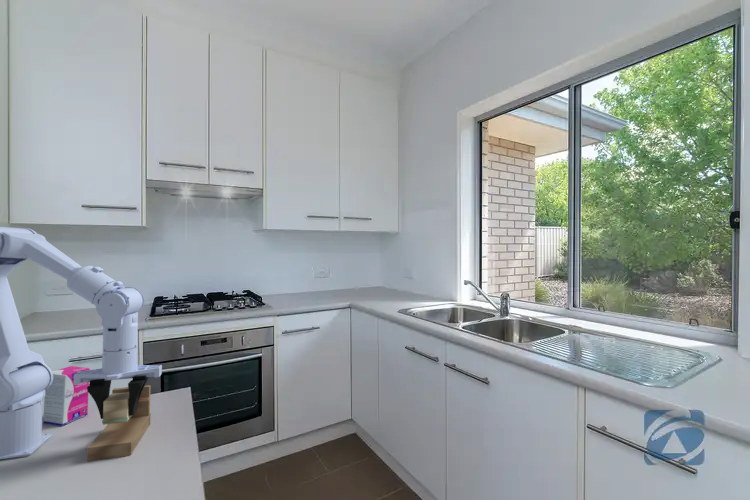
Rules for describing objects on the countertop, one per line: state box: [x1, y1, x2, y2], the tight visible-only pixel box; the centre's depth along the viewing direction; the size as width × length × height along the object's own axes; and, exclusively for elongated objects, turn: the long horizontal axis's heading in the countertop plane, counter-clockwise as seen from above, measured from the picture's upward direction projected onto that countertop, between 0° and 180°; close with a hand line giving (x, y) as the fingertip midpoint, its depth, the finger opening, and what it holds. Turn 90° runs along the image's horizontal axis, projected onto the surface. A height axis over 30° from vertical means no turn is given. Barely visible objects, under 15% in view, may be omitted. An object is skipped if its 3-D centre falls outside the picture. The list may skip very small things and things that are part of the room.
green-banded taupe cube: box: [101, 392, 131, 426], centre depth 71 cm, size 4×4×4 cm
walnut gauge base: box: [86, 384, 152, 462], centre depth 73 cm, size 7×13×9 cm, turn 19°
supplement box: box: [42, 365, 91, 427], centre depth 82 cm, size 6×6×12 cm
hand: (118, 415), depth 71 cm, fingers closed on green-banded taupe cube, 4 cm apart
